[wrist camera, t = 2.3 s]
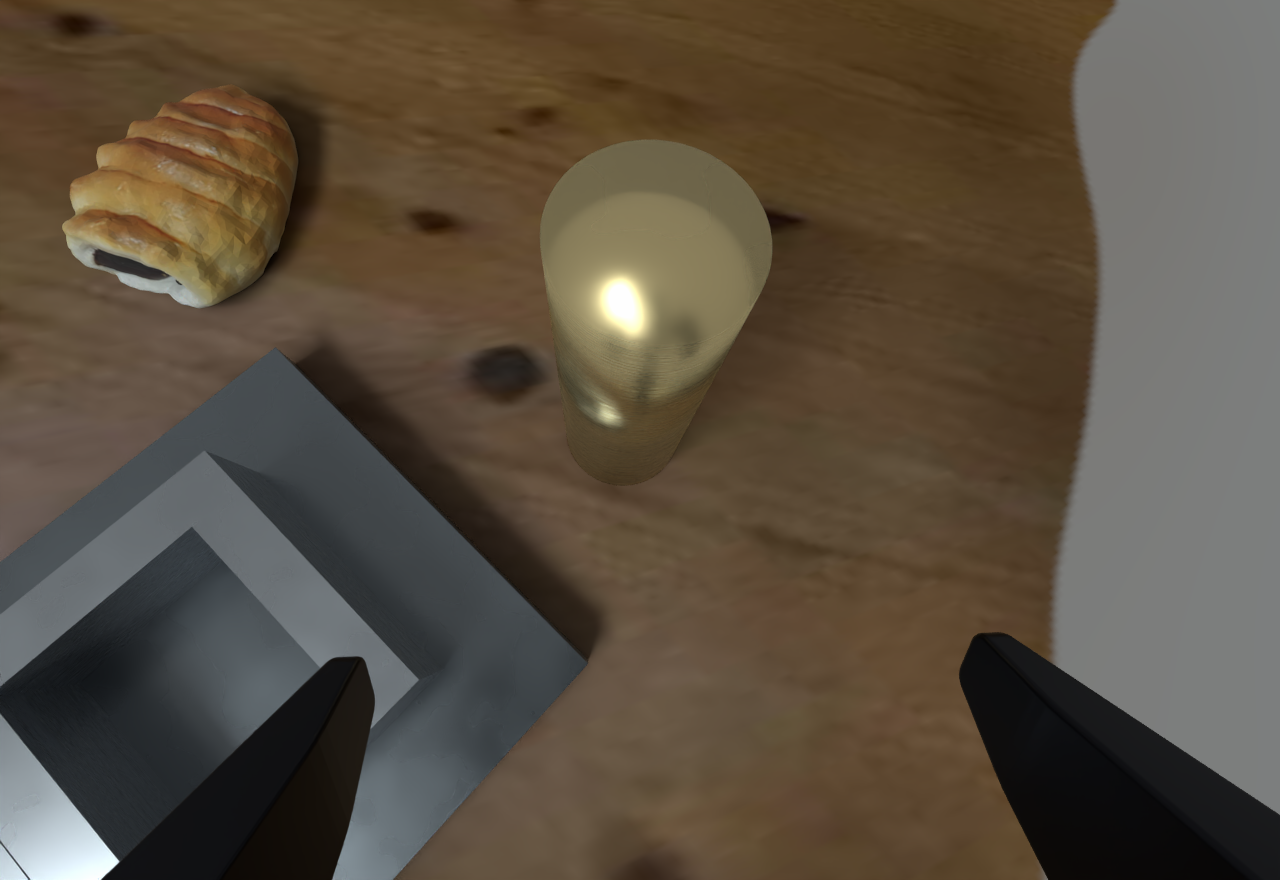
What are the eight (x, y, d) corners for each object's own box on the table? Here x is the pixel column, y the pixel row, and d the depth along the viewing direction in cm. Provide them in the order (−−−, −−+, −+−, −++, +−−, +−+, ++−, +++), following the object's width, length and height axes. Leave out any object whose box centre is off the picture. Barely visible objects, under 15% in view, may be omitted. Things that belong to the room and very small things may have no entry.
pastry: (198, 101, 27) (136, 20, 23) (345, 145, 27) (307, 72, 23) (87, 281, 24) (-4, 223, 20) (250, 329, 24) (189, 280, 20)
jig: (588, 659, 21) (587, 673, 17) (200, 1087, 18) (72, 1245, 13) (294, 363, 24) (228, 308, 19) (-112, 686, 20) (-312, 709, 15)
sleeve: (700, 430, 24) (817, 240, 12) (624, 509, 23) (664, 392, 11) (620, 357, 25) (651, 101, 12) (543, 431, 24) (489, 233, 11)
